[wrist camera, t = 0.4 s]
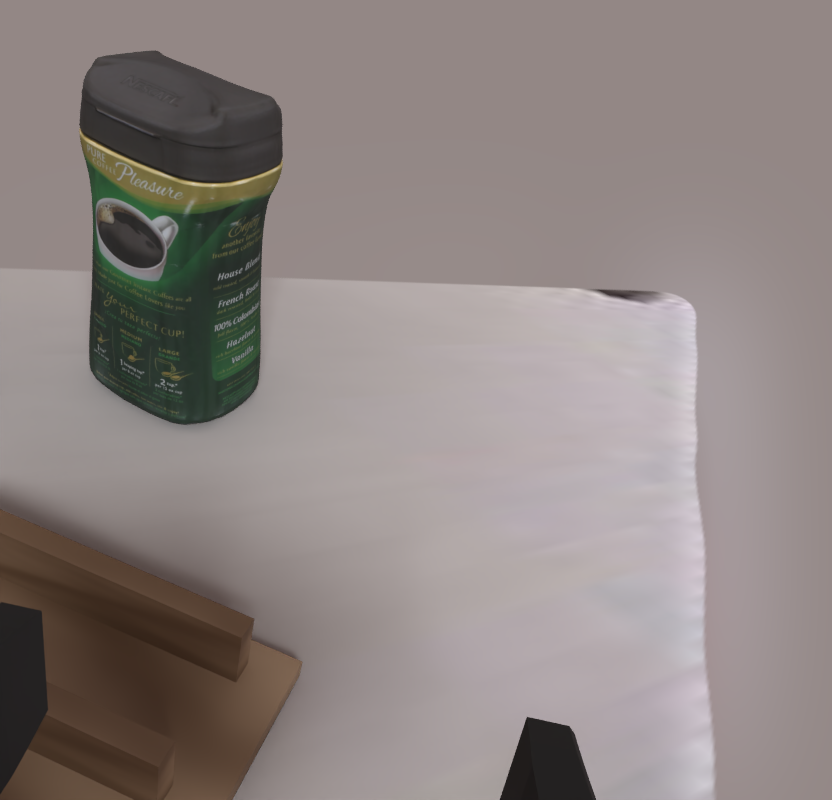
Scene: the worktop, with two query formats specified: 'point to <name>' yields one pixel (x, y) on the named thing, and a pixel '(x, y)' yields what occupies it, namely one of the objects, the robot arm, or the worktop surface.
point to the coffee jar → (177, 232)
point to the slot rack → (136, 678)
